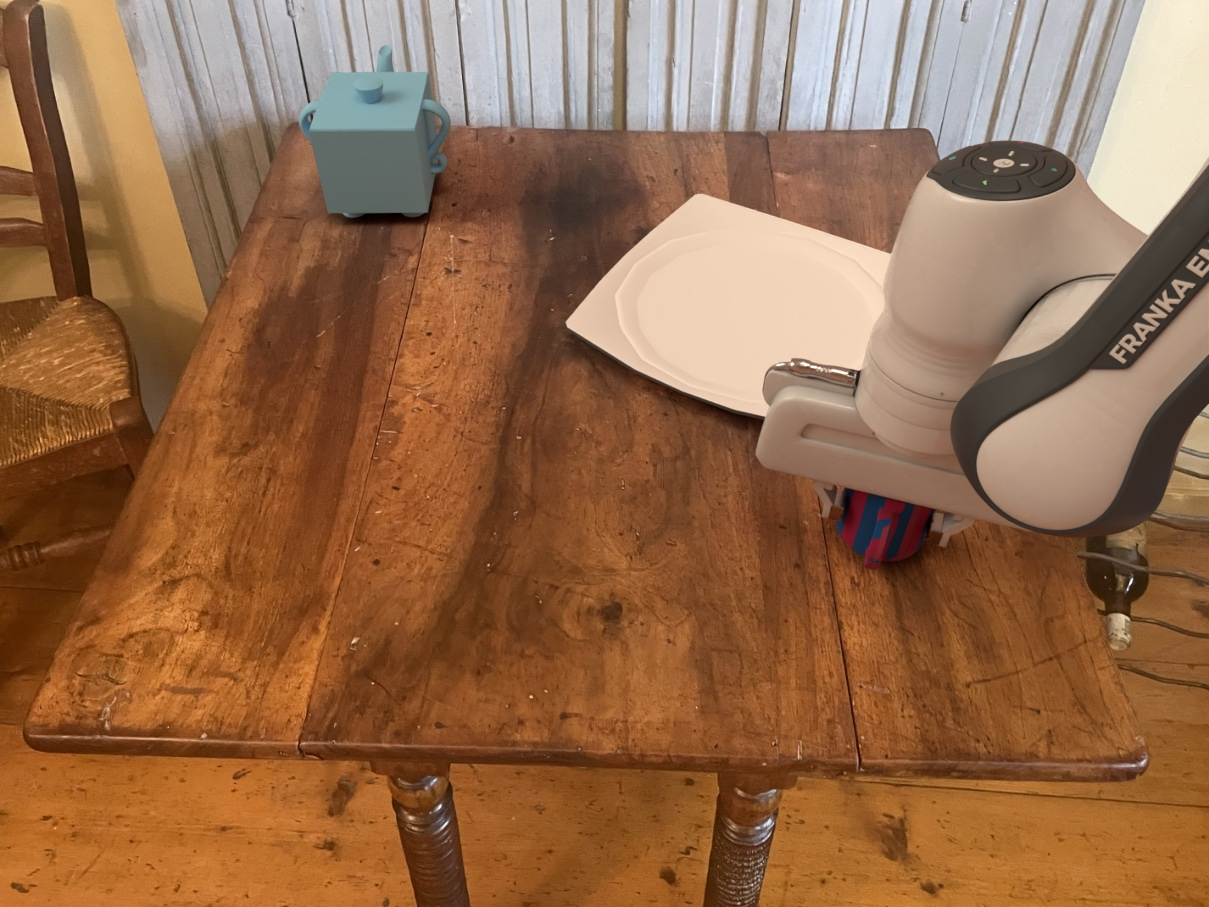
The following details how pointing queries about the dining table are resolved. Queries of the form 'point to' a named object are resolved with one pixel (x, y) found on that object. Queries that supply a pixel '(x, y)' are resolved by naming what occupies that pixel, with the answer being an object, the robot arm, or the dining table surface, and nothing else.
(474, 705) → the dining table surface
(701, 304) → the plate
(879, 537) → the mug
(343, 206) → the teapot
